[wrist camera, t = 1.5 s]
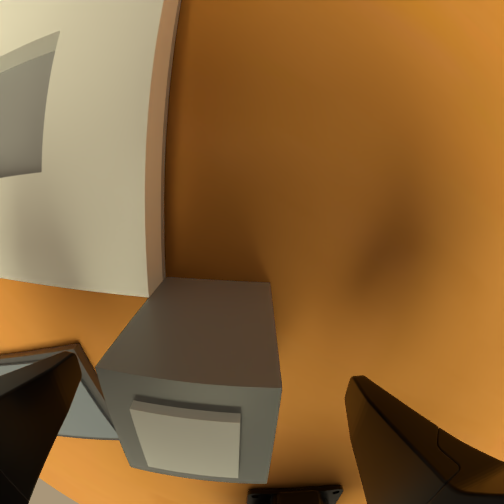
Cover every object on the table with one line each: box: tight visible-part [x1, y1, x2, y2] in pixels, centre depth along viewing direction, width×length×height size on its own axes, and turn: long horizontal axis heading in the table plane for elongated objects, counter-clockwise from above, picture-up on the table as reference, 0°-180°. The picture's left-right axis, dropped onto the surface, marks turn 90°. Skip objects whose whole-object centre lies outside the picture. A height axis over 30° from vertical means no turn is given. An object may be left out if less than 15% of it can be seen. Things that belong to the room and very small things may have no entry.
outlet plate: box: [0, 0, 182, 297], centre depth 8 cm, size 14×14×2 cm
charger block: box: [95, 277, 282, 484], centre depth 9 cm, size 4×4×6 cm
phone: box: [0, 343, 119, 440], centre depth 13 cm, size 6×13×1 cm, turn 106°
